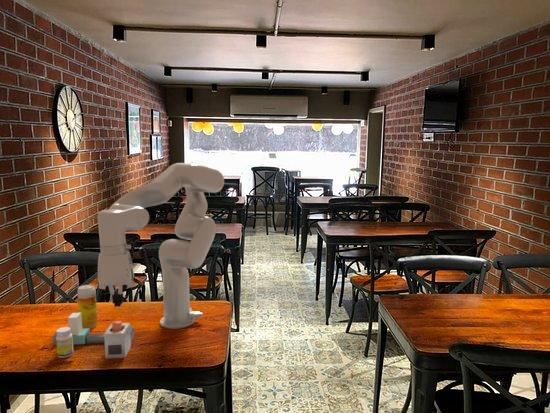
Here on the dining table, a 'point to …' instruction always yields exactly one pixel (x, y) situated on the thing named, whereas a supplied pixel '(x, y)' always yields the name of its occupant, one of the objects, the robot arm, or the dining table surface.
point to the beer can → (87, 305)
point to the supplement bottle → (64, 342)
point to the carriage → (77, 328)
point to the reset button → (117, 326)
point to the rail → (95, 337)
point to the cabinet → (117, 342)
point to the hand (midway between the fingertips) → (118, 305)
